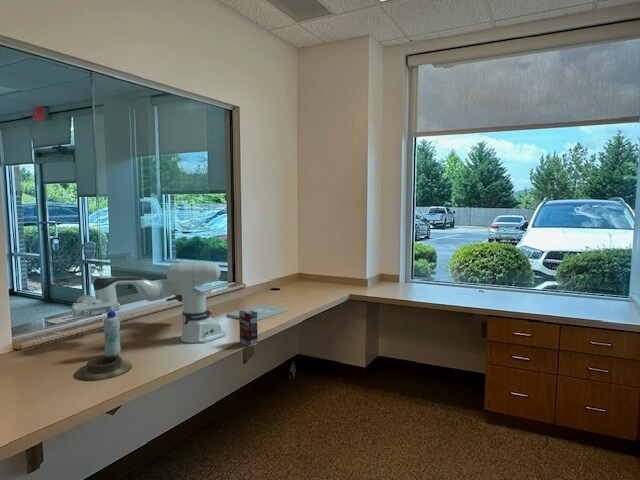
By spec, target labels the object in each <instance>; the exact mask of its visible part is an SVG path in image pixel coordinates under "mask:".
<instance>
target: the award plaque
mask: <svg viewBox="0 0 640 480" xmlns="http://www.w3.org/2000/svg"><path fill="white" fill-rule="evenodd" d="M246 309H247V310H250V311H254V312H257V321H261V320H263V319H266V318H270V317H272V316H275V315H278V314H281V313H284V312H287V311H289V312H290V309H288V308H280V307H278V306H277V307H275V306H270V305H264V304H257V305H254V306H251V307H246V308H242V309H240V310H236V311H232V312H229V313H226V316H228V317H227V318H230V317H233V318H232V319H235V318H238V319H237V320H239V311H242V310H246ZM270 319H271V318H270ZM261 322H262V321H261Z"/></svg>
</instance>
